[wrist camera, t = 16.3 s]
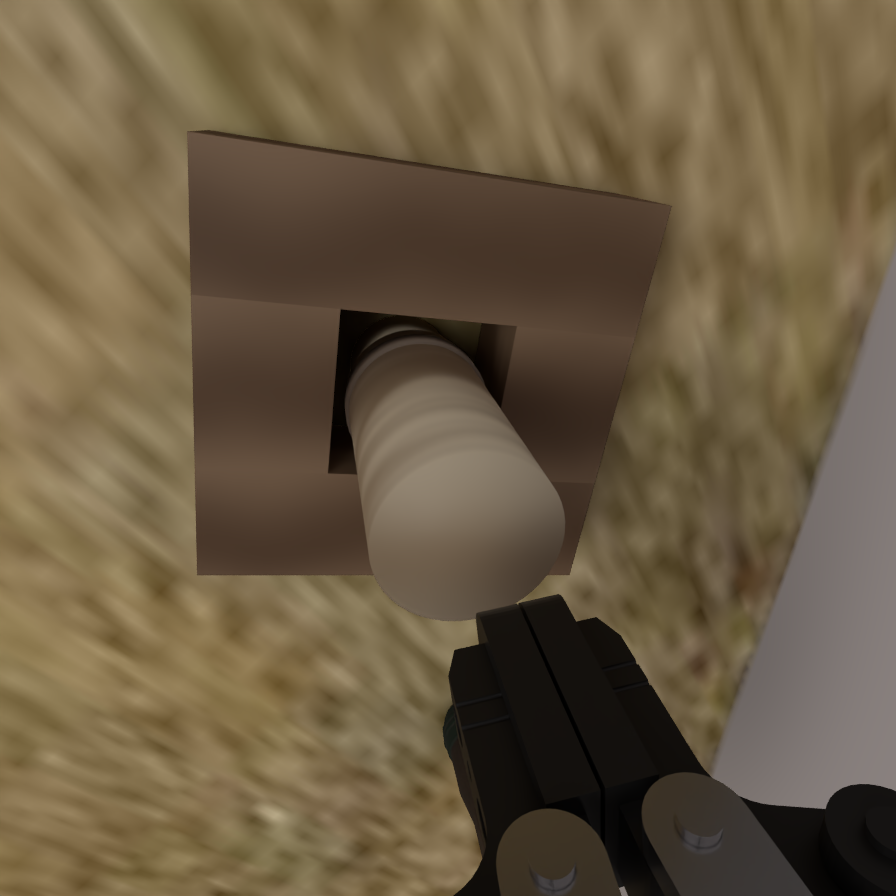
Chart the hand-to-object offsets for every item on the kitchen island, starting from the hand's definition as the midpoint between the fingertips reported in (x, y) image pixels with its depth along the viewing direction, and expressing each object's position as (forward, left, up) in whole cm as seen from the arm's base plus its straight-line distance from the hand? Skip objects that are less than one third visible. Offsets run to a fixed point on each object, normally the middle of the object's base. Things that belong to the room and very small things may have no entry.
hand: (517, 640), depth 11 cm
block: (0, 0, -15) cm, 15 cm away
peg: (0, 0, -15) cm, 15 cm away
